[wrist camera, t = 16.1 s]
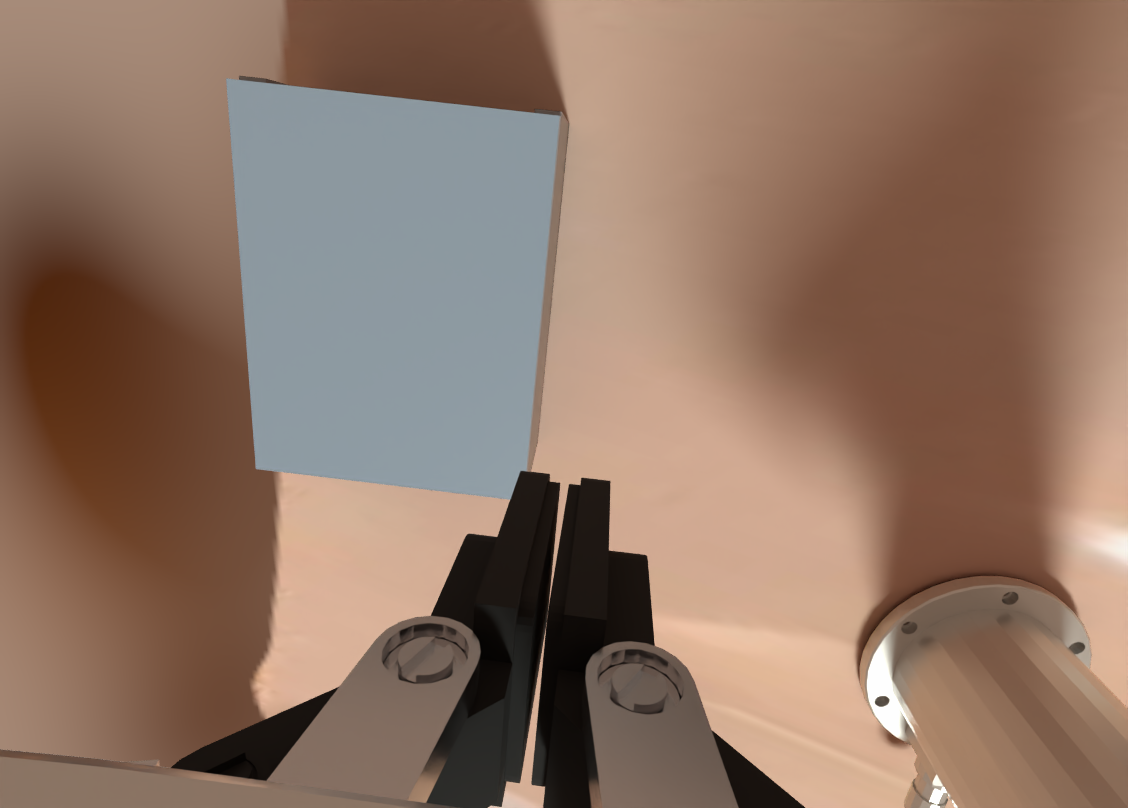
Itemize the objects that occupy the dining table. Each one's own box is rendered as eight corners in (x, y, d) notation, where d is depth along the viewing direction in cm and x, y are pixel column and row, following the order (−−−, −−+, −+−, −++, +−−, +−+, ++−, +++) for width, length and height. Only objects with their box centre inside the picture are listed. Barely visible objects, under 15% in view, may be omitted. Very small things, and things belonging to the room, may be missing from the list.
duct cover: (525, 492, 28) (523, 501, 28) (265, 461, 29) (256, 468, 28) (560, 117, 23) (559, 115, 22) (238, 81, 23) (225, 78, 22)
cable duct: (537, 442, 34) (525, 495, 29) (320, 416, 34) (266, 464, 29) (569, 123, 29) (561, 111, 23) (309, 94, 29) (239, 75, 23)
